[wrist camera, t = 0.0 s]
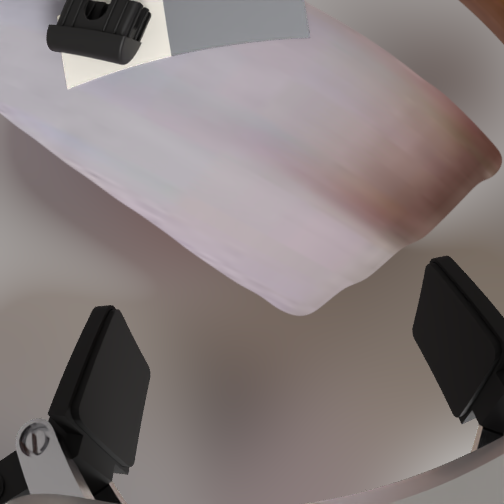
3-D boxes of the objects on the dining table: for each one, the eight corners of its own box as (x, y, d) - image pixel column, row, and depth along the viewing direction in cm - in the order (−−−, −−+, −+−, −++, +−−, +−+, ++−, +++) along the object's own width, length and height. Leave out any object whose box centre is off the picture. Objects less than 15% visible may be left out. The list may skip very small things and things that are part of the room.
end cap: (67, 52, 28) (39, 50, 22) (86, 1, 25) (61, -9, 19) (134, 66, 31) (114, 64, 25) (157, 13, 27) (141, 1, 22)
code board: (57, 16, 25) (57, 16, 25) (159, -22, 25) (159, -22, 25) (67, 89, 31) (67, 89, 31) (171, 56, 31) (171, 56, 30)
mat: (159, -22, 25) (159, -22, 25) (296, -40, 25) (296, -40, 25) (171, 56, 31) (171, 56, 30) (309, 37, 30) (310, 37, 30)
